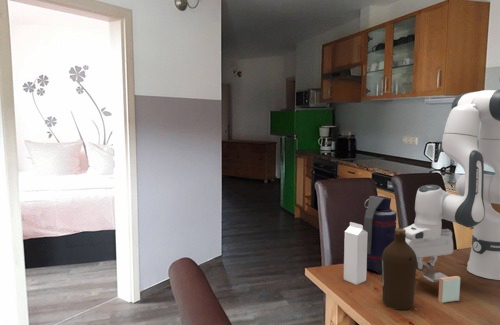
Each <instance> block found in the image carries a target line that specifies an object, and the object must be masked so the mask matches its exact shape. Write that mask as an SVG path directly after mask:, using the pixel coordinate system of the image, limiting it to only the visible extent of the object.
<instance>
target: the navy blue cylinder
mask: <svg viewBox="0 0 500 325" xmlns="http://www.w3.org/2000/svg"><path fill="white" fill-rule="evenodd" d="M391 201H392V198H391V197H387V196H382V195H369V198H368V199H366V200H365V201H364V208H366V209H365V211H364V218H363V221H364V222H363V230H365V231H366V232H368V235H367V269H368V270H371V271H374V272H376V274H378V275H382V254H383V251H384V249H385V248H386V247H387V246H388V245H389V244H391V243H392V242H393V241H394V240H395V229H397V211H395V210H394V209H393V210H392V208H391ZM367 202H368V204H367V206H366V203H367Z"/></svg>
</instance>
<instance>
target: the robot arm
mask: <svg viewBox="0 0 500 325" xmlns="http://www.w3.org/2000/svg"><path fill="white" fill-rule="evenodd" d="M441 149H442V151H443V153H444V154H445V155H446V156H447V157H448V158H449V159H451V160H452V161H454V162H455V163H457V164H458V165H459V166H461V168H462V169H463V171H464V173H463V174H461V175H459V177H458V178H457V179H456V183H455V191H456V193H457V194H455V193H451V192H447V191H446V190H443V189H442V188H441V186H440V185H437V184H426V185H425V184H424V185H422V186H420V187H418V189H417V191H416V195H415V202H414V203H415V204H414V212H415V219H414V223H412V224H411V225H408V226H407V227H403V229H405V230H406V232H405V234H406V239H405V241H406V243H407V244H408V245H409V246H410V247H411V248H412V249H413V250H414V252H415V254H416V257H417V262H418V268H420V269H424V268H425V267H424V266H425V264H423V263H422V261H424V260H423V259H424V258H429V257H430V259H429V261H426V263H428V264H430V265H432V266H434V267H435V263H436V261H437V260H438V257H439V256H446V255H447V256H449V255H452V254H453V253H454V240H453V232H452V230H451V229H450V228H442V225H443V224H442V220H446V221H448V222H449V221H450V222H452V223H455V224H458V225H460V226H463V227H465V228H473V234H472V235H471V248H470V253H469V254H470V255H469V259H468V261H467V264H466V265H467V267H466V270H467V271H468V272H469V273H470V274H472V275H475V276H478V277H480V278H485V279H489V280H495V281H500V212H498V211H496V210H495V208H493V206H492V204H496V205H500V89H496V90H495V89H484V90H480V91H473V92H463V93H461V94H459V95H457V96H456V97H454V99H453V101H452V103H451V110H450V112H449V114H448V117H447V120H446V123H445V126H444V131H443V135H442V139H441ZM484 165H486V166H488V167H490V168H492V170H493V171H494V174H487V173H485V171H484V170H485V166H484ZM421 260H422V261H421Z"/></svg>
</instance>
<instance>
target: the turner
mask: <svg viewBox="0 0 500 325" xmlns="http://www.w3.org/2000/svg"><path fill="white" fill-rule="evenodd" d="M421 261H422V263H423V264H425V266H424V267H425V268H424V269H420V268H418V262H417V267H416V271H419V272H421V273H423V276H422V277H423V278H425V279H426V280H428V281H430V282H432V283H439V278H444V277H449V276H448V275H446V274H444V273H443V272H436V267H435V265H434V266H432V265H430V264H428V263H427V261H424V260H421Z"/></svg>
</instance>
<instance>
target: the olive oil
mask: <svg viewBox="0 0 500 325" xmlns="http://www.w3.org/2000/svg"><path fill="white" fill-rule="evenodd" d="M405 232H406V230H405V229H404V228H401V227H398V228H397V227H396V229H395V240H394V241H393V242H392V243H391V244H389V245H388V246H387V247H386V248H385V249H384V251H383V254H382V274H381V275H382V280H381V281H382V303H383V304H384V305H385V306H386V307H389V308H391V309H393V310H394V309H395V310H401V311H403V310H404V311H405V310H410V309H412V308H413V306H414V297H415V286H416V276H417V275H416V274H417V269H416V267H417V257H416V254H415V252H414V250H413V249H412V248H411V247H410V246H409V245H408V244H407V243H406V241H405V239H406V234H405Z"/></svg>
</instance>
